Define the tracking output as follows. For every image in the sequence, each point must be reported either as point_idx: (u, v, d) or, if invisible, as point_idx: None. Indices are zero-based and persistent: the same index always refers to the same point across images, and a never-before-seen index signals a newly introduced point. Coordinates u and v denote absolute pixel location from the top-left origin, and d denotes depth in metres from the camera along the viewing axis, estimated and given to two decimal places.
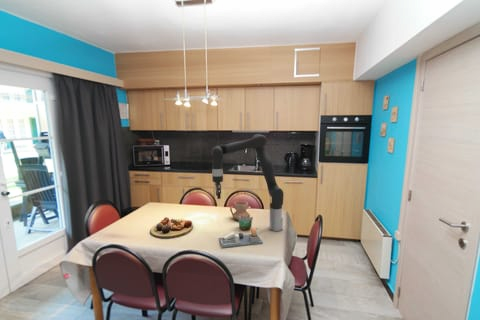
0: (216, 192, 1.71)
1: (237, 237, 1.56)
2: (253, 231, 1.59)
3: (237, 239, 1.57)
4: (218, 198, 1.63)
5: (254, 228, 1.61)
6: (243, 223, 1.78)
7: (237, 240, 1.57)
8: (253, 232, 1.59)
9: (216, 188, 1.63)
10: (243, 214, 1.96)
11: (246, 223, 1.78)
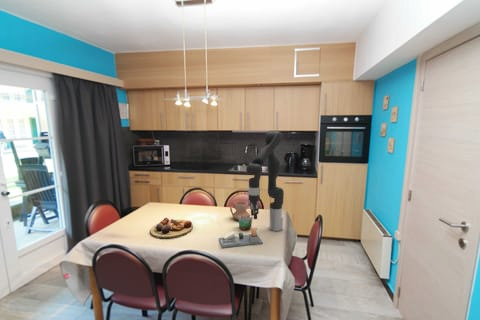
0: (251, 212, 1.62)
1: (237, 237, 1.56)
2: (253, 231, 1.59)
3: (237, 239, 1.57)
4: (255, 218, 1.55)
5: (254, 228, 1.61)
6: (243, 223, 1.78)
7: (237, 240, 1.57)
8: (253, 232, 1.59)
9: (253, 208, 1.55)
10: (243, 214, 1.96)
11: (246, 223, 1.78)
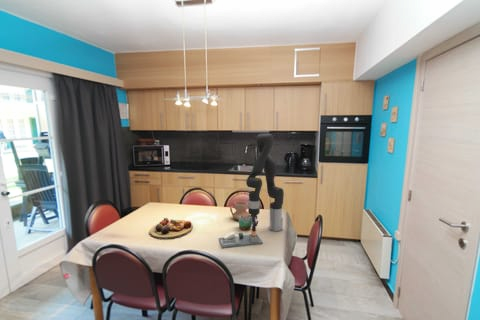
0: None
1: (237, 237, 1.56)
2: (253, 233, 1.59)
3: (237, 239, 1.57)
4: (253, 230, 1.60)
5: None
6: (243, 223, 1.78)
7: (237, 240, 1.57)
8: (253, 234, 1.59)
9: (252, 221, 1.57)
10: (243, 214, 1.96)
11: (246, 223, 1.78)
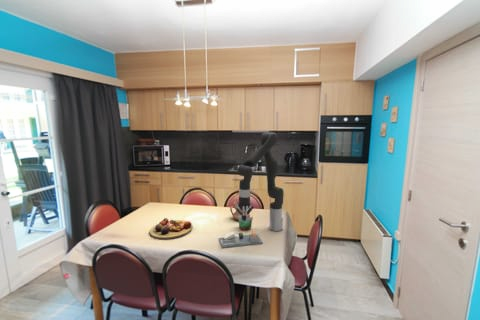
0: None
1: (237, 237, 1.56)
2: (253, 235, 1.59)
3: (237, 239, 1.57)
4: (242, 219, 1.58)
5: (254, 232, 1.61)
6: (243, 223, 1.78)
7: (237, 240, 1.57)
8: (253, 236, 1.59)
9: (241, 209, 1.58)
10: None
11: (246, 223, 1.78)
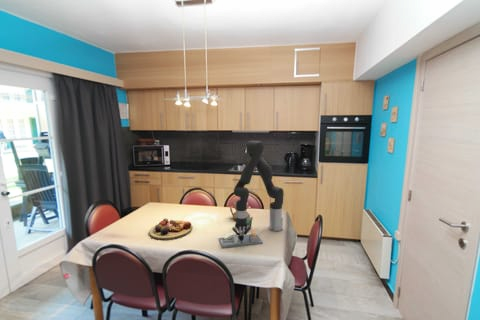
0: None
1: (236, 237, 1.56)
2: (253, 235, 1.59)
3: (236, 239, 1.56)
4: (240, 239, 1.59)
5: (254, 232, 1.61)
6: None
7: (236, 240, 1.57)
8: (253, 236, 1.59)
9: None
10: None
11: None
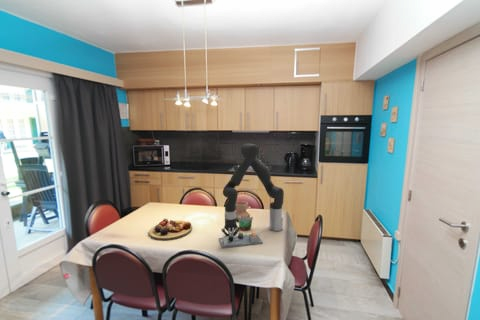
0: None
1: (225, 238, 1.55)
2: (253, 235, 1.59)
3: (225, 240, 1.55)
4: (229, 240, 1.58)
5: (254, 232, 1.61)
6: (243, 223, 1.78)
7: (225, 241, 1.55)
8: (253, 236, 1.59)
9: None
10: (243, 214, 1.96)
11: (246, 223, 1.78)
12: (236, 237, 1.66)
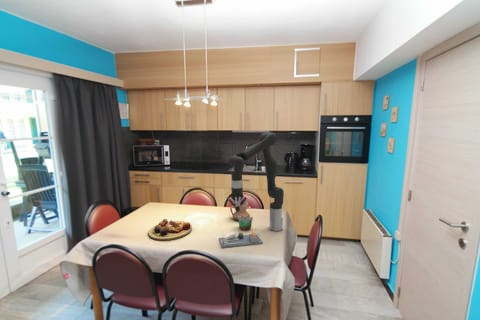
0: None
1: (225, 238, 1.55)
2: (253, 235, 1.59)
3: (225, 240, 1.55)
4: (236, 210, 1.58)
5: (254, 232, 1.61)
6: (243, 223, 1.78)
7: (225, 241, 1.55)
8: (253, 236, 1.59)
9: (234, 200, 1.58)
10: (243, 214, 1.96)
11: (246, 223, 1.78)
12: (236, 237, 1.66)
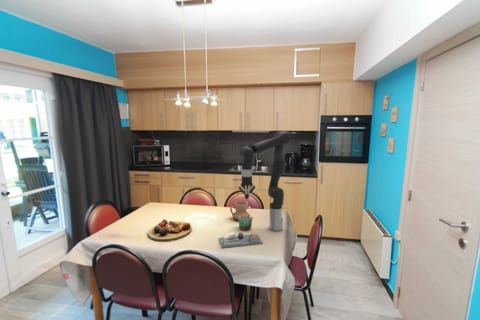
0: None
1: (225, 238, 1.55)
2: (253, 235, 1.59)
3: (225, 240, 1.55)
4: None
5: (254, 232, 1.61)
6: (243, 223, 1.78)
7: (225, 241, 1.55)
8: (253, 236, 1.59)
9: None
10: (243, 214, 1.96)
11: (246, 223, 1.78)
12: (236, 237, 1.66)
